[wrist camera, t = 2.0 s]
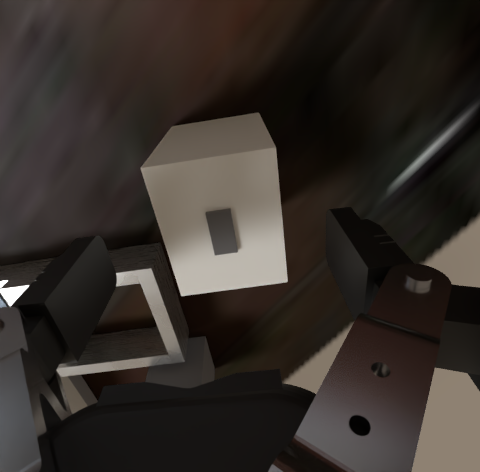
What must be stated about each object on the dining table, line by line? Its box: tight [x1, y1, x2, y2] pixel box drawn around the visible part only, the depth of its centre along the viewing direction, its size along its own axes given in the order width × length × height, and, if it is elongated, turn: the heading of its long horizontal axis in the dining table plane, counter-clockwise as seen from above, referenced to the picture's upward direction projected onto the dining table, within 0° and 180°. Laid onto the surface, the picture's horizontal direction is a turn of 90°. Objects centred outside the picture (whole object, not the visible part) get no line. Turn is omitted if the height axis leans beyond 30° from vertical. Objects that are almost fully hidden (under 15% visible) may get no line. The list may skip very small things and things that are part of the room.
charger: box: [141, 113, 288, 296], centre depth 13 cm, size 5×4×6 cm
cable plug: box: [145, 336, 215, 388], centre depth 20 cm, size 4×4×5 cm
